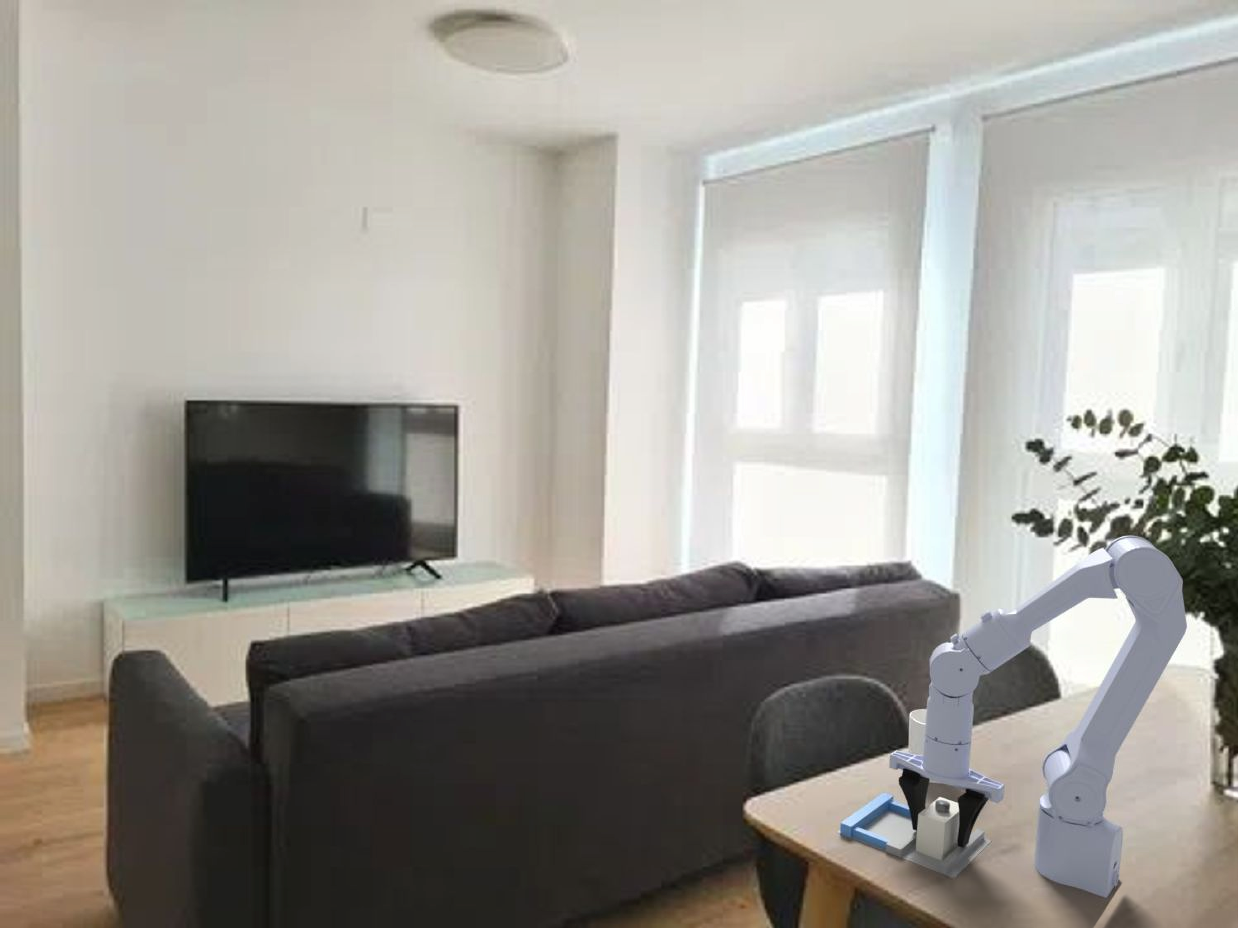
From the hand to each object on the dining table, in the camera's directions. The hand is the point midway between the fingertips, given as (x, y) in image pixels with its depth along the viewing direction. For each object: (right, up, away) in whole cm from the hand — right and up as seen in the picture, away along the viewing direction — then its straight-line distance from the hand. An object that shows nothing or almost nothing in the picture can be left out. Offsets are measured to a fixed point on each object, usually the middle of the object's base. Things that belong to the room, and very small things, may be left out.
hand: (940, 835), depth 122 cm
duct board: (-3, -2, +3) cm, 4 cm away
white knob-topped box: (0, -1, 0) cm, 1 cm away
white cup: (+7, -1, +23) cm, 24 cm away
